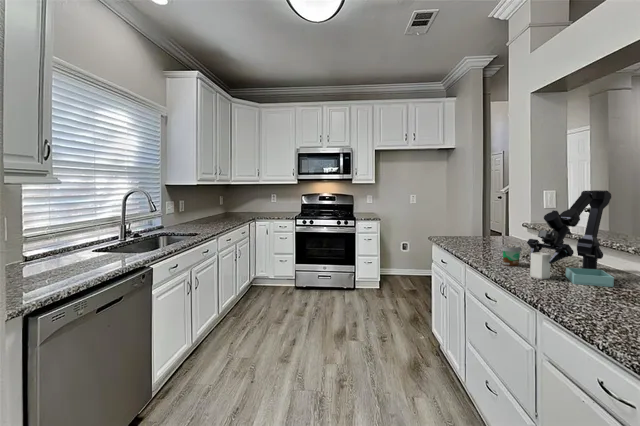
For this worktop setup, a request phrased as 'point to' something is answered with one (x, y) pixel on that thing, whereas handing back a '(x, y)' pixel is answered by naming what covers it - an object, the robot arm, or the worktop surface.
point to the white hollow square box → (540, 265)
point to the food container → (511, 255)
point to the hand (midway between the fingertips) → (539, 261)
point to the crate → (589, 277)
